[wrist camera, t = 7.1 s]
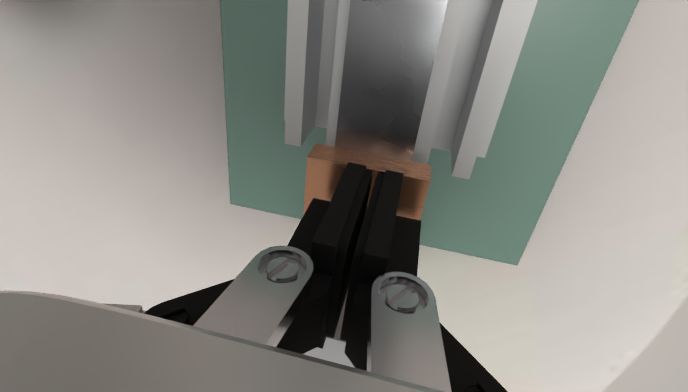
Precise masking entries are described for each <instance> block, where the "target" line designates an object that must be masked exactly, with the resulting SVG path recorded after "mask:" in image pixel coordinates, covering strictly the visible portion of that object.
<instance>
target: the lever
mask: <svg viewBox="0 0 688 392" xmlns="http://www.w3.org/2000/svg"><path fill="white" fill-rule="evenodd" d="M447 2H448V0H350V9H349V19H348V28H347V37H346V46H345V56H344V65H343V74H342V84H341V93H340V102H339V112H338V121H337V130H336V140H335V147H334V146H329V145H324V144H319V143H316V144H315V145H314V147H313V149H312V150H311V152H310V153H309V155H308V156H307V167H306V182H305V197H304V211H303V216H304V214H305V212H306V210H307V208H308V206H309V204H310V203H311V201H312V199H313V198H317V199H322V200H327V201H331V199H332V197H333V194H334V192H335V190H336V188H337V186H338V183H339V181H340V179H341V177H342V175H343V173H344V170H345V168H346V166H347V164H348V162H350V163H355V164H360V165H365V166H366V171H371V172H372V178H371V184H370V190H369V196H368V202H367V207H368V204H369V200H370V197H371V194H372V190H373V187H374V184H375V180H376V177H377V174H378V173H381V174H385V171H386V170H390V171H395V172H400V173H404V175H403V180H402V186H401V191H400V197H399V202H398V208H397V213H396V215H397V216H402V217H407V218H411V219H416V220H420V219H421V215H422V211H423V207H424V203H425V200H426V196H427V192H428V188H429V184H430V178H431V165H428V164H423V163H418V162H413V161H412V157H413V152H414V148H415V143H416V139H417V135H418V130H419V126H420V121H421V117H422V113H423V108H424V104H425V99H426V95H427V90H428V86H429V82H430V77H431V73H432V68H433V64H434V60H435V55H436V51H437V46H438V42H439V37H440V33H441V29H442V24H443V20H444V15H445V11H446V7H447ZM367 207H366V210H367ZM365 214H366V213H365ZM347 292H348V290H347Z"/></svg>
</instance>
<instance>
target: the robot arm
mask: <svg viewBox="0 0 688 392" xmlns="http://www.w3.org/2000/svg"><path fill="white" fill-rule="evenodd" d="M403 175H404V173H400V172H395V171H390V170H386V171H385V174H381V173H378V174H377V177H376V180H375V184H374V187H373V190H372V194H371V197H370V200H369V204H368V207H367V202H368V196H369V190H370V184H371V178H372V172H371V171H366V166H365V165H360V164H355V163H350V162H348V164H347V166H346V168H345V170H344V173H343V175H342V177H341V179H340V181H339V183H338V186H337V188H336V190H335V192H334V194H333V197H332V199H331V201H327V200H322V199H317V198H313V199H312V201H311V203H310V204H309V206H308V208H307V210H306V212H305V214H304V216H303V218H302V219H301V221H300V223H299V225H298V227H297V229H296V231H295V233H294V234H293V236H292V238H291V240H290V242H289V244H288V246H275V247H270V248H267V249H265V250H263V251H261V252H260V253H259V254H257V255H256V256H255V257H254V258H253V259H252V261H251V262H250V263H249V264H248V265H247V266H246V267H245V268H244V269H243V271H242V272H241V273H240V274H239V275H238V276H237V277H236V278H235V279H233V280H230V281H227V282H224V283H221V284H218V285H215V286H212V287H209V288H205V289H202V290H199V291H196V292H193V293H190V294H187V295H184V296H181V297H178V298H175V299H172V300H169V301H166V302H163V303H160V304H158V305H156V306H154V307H152V308H150V309H149V310H148V311H143V310H142V306H140V305H120V304H101V303H96V302H92V301H87V300H82V299H77V298H72V297H67V296H62V295H55V294H47V293H39V292H29V291H0V392H507V391H506V390H505V389H504V388H503V387H502V385H501V384H500V383H499V382H498V381H497V380H496V379H495V378H494V377H493V376H492V375H491V374H490V373H489V372H488V371H487V370H486V369H485V368H484V367H483V366H482V365H481V364H480V363H479V362H478V361H477V360H476V359H475V358H474V357H473V356H472V355H471V354H470V353H469V352H468V351H467V350H466V349H465V348H464V347H463V346H462V345H461V344H460V343H459V342H458V341H457V340H456V339H455V338H454V337H453V336H452V335H451V334H450V333H449V332H448V331H447V330H446V329H445V328H444V326H443V325H442V324H441V323H440V322H439V317H438V312H437V306H436V300H435V296H434V294H433V291H432V290H431V288H430V287H429V286H428V285H427V283H425V282H424V281H423V280H421V279H420V278H418V277H417V268H418V256H419V244H420V232H421V220H416V219H411V218H407V217H402V216H397V215H396V213H397V208H398V202H399V197H400V191H401V186H402V180H403ZM366 207H367V210H366ZM365 213H366V214H365ZM347 290H348V292H347ZM346 294H347V298H346V304H345V310H344V317H343V323H342V329H341V335H340V340H343V341H346V345H345V351H344V353H345V355H346V356H347V357H348V358H349V360H350V361H351V363H352V364H353V366H354V367H355V368H353V367H350V366H346V365H342V364H338V363H334V362H330V361H327V360H323V359H319V358H315V357H311V356H308V355H305V353H306V352H308V351H310V350H312V349H314V348H321V349H323V346H324V343H325V340H326V336H327V337H331V338H334V336H335V332H336V329H337V325H338V322H339V318H340V315H341V311H342V308H343V304H344V301H345V297H346Z"/></svg>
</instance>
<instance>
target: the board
mask: <svg viewBox="0 0 688 392" xmlns="http://www.w3.org/2000/svg"><path fill="white" fill-rule="evenodd" d="M638 2H639V0H448V2H447V7H446V11H445V15H444V20H443V24H442V29H441V33H440V37H439V42H438V46H437V51H436V55H435V60H434V64H433V68H432V73H431V77H430V82H429V86H428V90H427V95H426V99H425V104H424V108H423V113H422V117H421V121H420V126H419V130H418V135H417V139H416V143H415V148H414V152H413V157H412V161H413V162H418V163H423V164H428V165H431V178H430V184H429V188H428V192H427V196H426V200H425V203H424V207H423V211H422V215H421V219H420V220H421V232H420V245H424V246H429V247H434V248H438V249H443V250H448V251H452V252H457V253H462V254H466V255H471V256H476V257H480V258H485V259H489V260H494V261H499V262H503V263H508V264H513V265H518V263H519V261H520V258H521V256H522V254H523V252H524V250H525V247H526V245H527V243H528V241H529V239H530V237H531V234H532V232H533V230H534V228H535V226H536V224H537V221H538V219H539V217H540V215H541V213H542V210H543V208H544V206H545V204H546V202H547V200H548V197H549V195H550V193H551V191H552V189H553V187H554V184H555V182H556V180H557V178H558V176H559V173H560V171H561V169H562V167H563V165H564V163H565V160H566V158H567V156H568V154H569V152H570V150H571V147H572V145H573V143H574V141H575V139H576V136H577V134H578V132H579V130H580V128H581V126H582V123H583V121H584V119H585V117H586V115H587V113H588V110H589V108H590V106H591V104H592V102H593V99H594V97H595V95H596V93H597V91H598V89H599V86H600V84H601V82H602V80H603V78H604V76H605V73H606V71H607V69H608V67H609V65H610V63H611V60H612V58H613V56H614V54H615V52H616V49H617V47H618V45H619V43H620V41H621V39H622V36H623V34H624V32H625V30H626V28H627V26H628V23H629V21H630V19H631V17H632V15H633V12H634V10H635V8H636V6H637V4H638ZM220 9H221V29H222V48H223V68H224V87H225V107H226V126H227V145H228V165H229V184H230V204H234V205H238V206H243V207H248V208H252V209H257V210H262V211H266V212H271V213H276V214H280V215H285V216H289V217H294V218H299V219H302V218H303V211H304V197H305V182H306V167H307V156H308V155H309V153H310V152H311V150H312V149H313V147H314V145H315V144H316V143H319V144H324V145H329V146H334V147H335V140H336V130H337V121H338V112H339V102H340V93H341V84H342V74H343V65H344V56H345V46H346V37H347V28H348V19H349V9H350V0H220ZM346 298H347V294H346V297H345V301H344V304H343V308H342V311H341V315H340V318H339V322H338V325H337V329H336V332H335V336H334V338H331V337H327V336H326V340H325V343H324V346H323V349H321V348H314V349H312V350H310V351H308V352H306V353H305V355H308V356H311V357H315V358H319V359H323V360H327V361H330V362H334V363H338V364H342V365H346V366H350V367H353V368H355V367H354V366H353V364H352V363H351V361H350V360H349V358H348V357H347V356H346V355H345V353H344V351H345V345H346V341H343V340H340V335H341V329H342V323H343V317H344V310H345V304H346Z"/></svg>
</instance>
